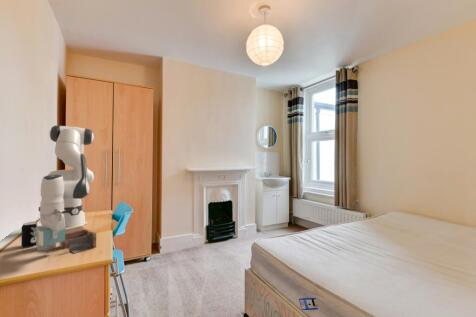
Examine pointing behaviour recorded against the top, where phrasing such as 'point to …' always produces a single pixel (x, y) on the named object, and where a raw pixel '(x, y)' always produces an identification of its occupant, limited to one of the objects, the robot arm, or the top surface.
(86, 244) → the book stack with bookend
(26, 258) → the top surface
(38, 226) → the supplement box
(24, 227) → the beverage can
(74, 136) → the robot arm
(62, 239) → the boxed book
